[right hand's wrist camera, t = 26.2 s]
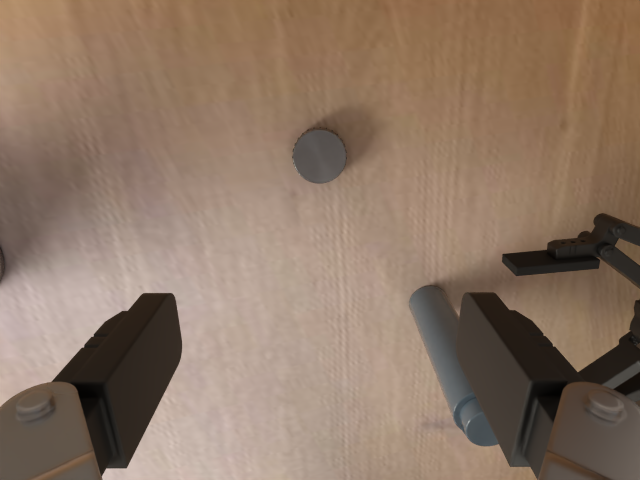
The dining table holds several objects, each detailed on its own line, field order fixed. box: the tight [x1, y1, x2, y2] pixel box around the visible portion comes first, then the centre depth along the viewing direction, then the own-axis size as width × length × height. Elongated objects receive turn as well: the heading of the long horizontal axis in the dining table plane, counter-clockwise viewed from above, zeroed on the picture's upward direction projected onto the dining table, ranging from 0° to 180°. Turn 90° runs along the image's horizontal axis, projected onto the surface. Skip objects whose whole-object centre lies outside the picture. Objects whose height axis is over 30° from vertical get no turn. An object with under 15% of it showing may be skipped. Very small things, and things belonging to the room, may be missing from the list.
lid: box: [292, 127, 347, 183], centre depth 36 cm, size 5×5×2 cm
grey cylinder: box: [409, 286, 499, 446], centre depth 35 cm, size 4×4×17 cm
